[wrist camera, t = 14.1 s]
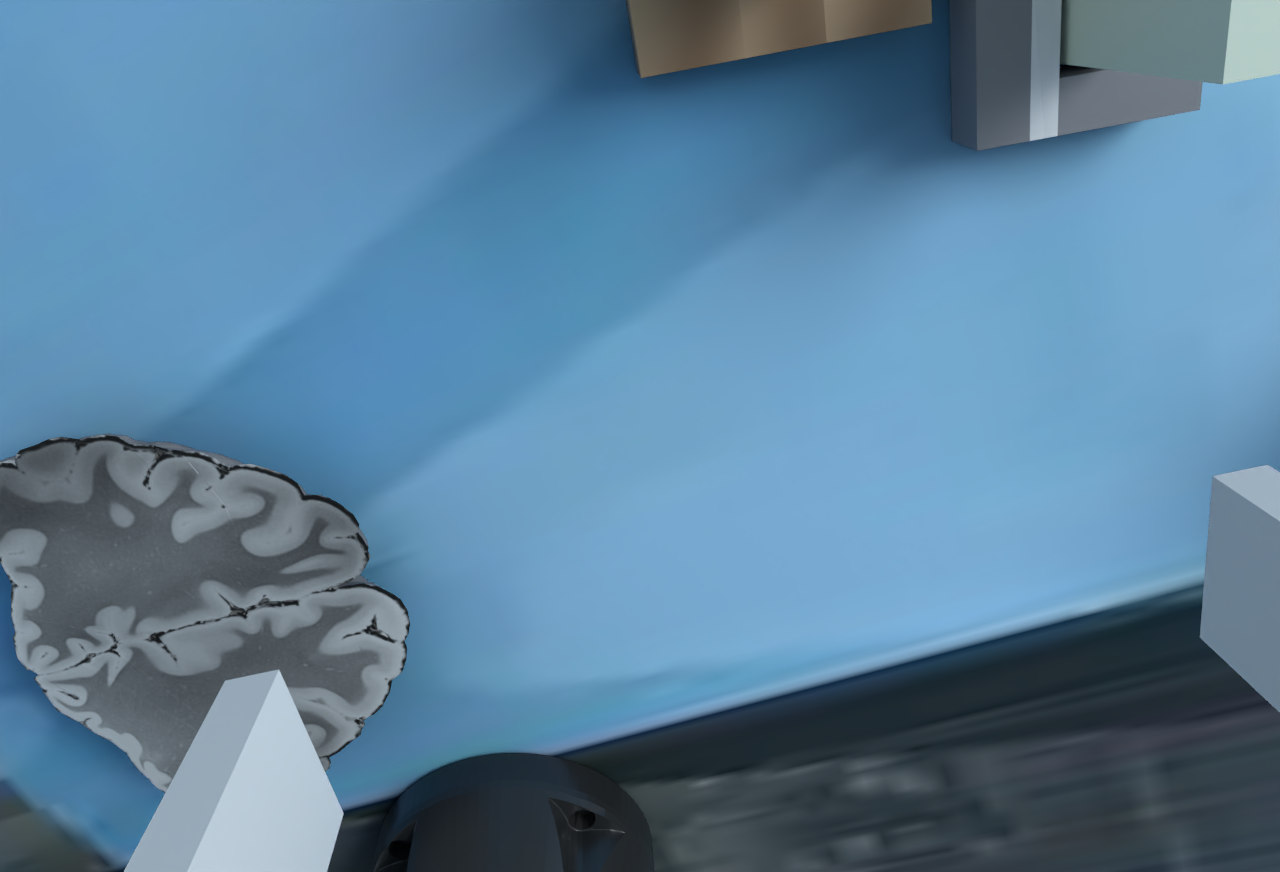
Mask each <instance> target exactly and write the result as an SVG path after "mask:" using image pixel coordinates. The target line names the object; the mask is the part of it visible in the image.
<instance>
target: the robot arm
mask: <svg viewBox="0 0 1280 872" xmlns="http://www.w3.org/2000/svg"><path fill="white" fill-rule="evenodd" d="M1200 638H1201V639H1202V640H1203V641H1204V642H1205V643H1206V644H1207V645H1209V646H1210V647H1211V648H1212V649H1213V650H1214V651H1215V652H1216V653H1217V654H1218V655H1219V656H1220V657H1221V658H1222V659H1223V660H1224V661H1226V662H1227V663H1228V664H1229V665H1230V666H1231V667H1232V668H1233V669H1234V670H1235V671H1236V672H1237V673H1238V674H1239V675H1240V676H1241V677H1243V678H1244V679H1245V680H1246V681H1247V682H1248V683H1249V684H1250V685H1251V686H1252V687H1253V688H1254V689H1255V690H1256V691H1257V692H1258V693H1260V694H1261V695H1262V696H1263V697H1264V698H1265V699H1266V700H1267V701H1268V702H1269V703H1270V704H1271V705H1272V706H1273V707H1274V708H1275V709H1277V710H1278V711H1279V712H1280V472H1279V471H1277V470H1275V469H1274V468H1272V467H1270V466H1269V465H1264V466H1259V467H1254V468H1249V469H1245V470H1240V471H1235V472H1230V473H1225V474H1220V475H1216V476H1213V477H1212V490H1211V502H1210V515H1209V528H1208V541H1207V553H1206V566H1205V579H1204V591H1203V604H1202V617H1201V630H1200ZM343 814H344V813H343V811H342V809H341V806H340V804H339V802H338V800H337V798H336V795H335V793H334V791H333V789H332V786H331V784H330V782H329V780H328V777H327V775H326V773H325V771H324V769H323V766H322V764H321V762H320V760H319V757H318V755H317V753H316V751H315V748H314V746H313V744H312V742H311V740H310V737H309V735H308V733H307V731H306V728H305V726H304V724H303V722H302V719H301V717H300V715H299V713H298V710H297V708H296V706H295V704H294V702H293V699H292V697H291V695H290V693H289V690H288V688H287V686H286V684H285V681H284V679H283V677H282V675H281V673H280V670H274V671H269V672H264V673H260V674H255V675H250V676H245V677H240V678H236V679H231V680H226V681H225V682H224V684H223V686H222V688H221V689H220V691H219V693H218V695H217V697H216V699H215V701H214V703H213V704H212V706H211V708H210V710H209V712H208V714H207V716H206V718H205V720H204V721H203V723H202V725H201V727H200V729H199V731H198V733H197V735H196V736H195V738H194V740H193V742H192V744H191V746H190V748H189V750H188V752H187V753H186V755H185V757H184V759H183V761H182V763H181V765H180V767H179V769H178V770H177V772H176V774H175V776H174V778H173V780H172V782H171V784H170V785H169V787H168V789H167V791H166V793H165V795H164V797H163V799H162V801H161V802H160V804H159V806H158V808H157V810H156V812H155V814H154V816H153V817H152V819H151V821H150V823H149V825H148V827H147V829H146V831H145V833H144V834H143V836H142V838H141V840H140V842H139V844H138V846H137V848H136V849H135V851H134V853H133V855H132V857H131V859H130V861H129V863H128V865H127V866H126V868H125V870H124V872H327V870H328V866H329V863H330V859H331V856H332V852H333V849H334V845H335V842H336V838H337V835H338V831H339V828H340V824H341V821H342V817H343ZM371 872H654V861H653V848H652V838H651V833H650V829H649V826H648V823H647V821H646V819H645V817H644V815H643V813H642V811H641V810H640V808H639V807H638V805H637V804H636V803H635V801H634V800H633V799H632V798H631V797H630V796H629V795H628V794H627V793H626V792H625V791H624V790H623V789H622V788H621V787H619V786H618V785H617V784H616V783H614V782H613V781H611V780H610V779H608V778H607V777H605V776H603V775H602V774H600V773H598V772H596V771H594V770H592V769H590V768H588V767H585V766H583V765H580V764H577V763H574V762H571V761H568V760H564V759H561V758H556V757H551V756H545V755H538V754H527V753H504V754H493V755H485V756H480V757H475V758H470V759H466V760H463V761H459V762H456V763H453V764H451V765H448V766H446V767H443V768H441V769H439V770H437V771H434V772H433V773H431V774H429V775H427V776H425V777H424V778H422V779H421V780H419V781H418V782H416V783H415V784H414V785H412V786H411V787H410V788H409V789H408V790H406V791H405V792H404V793H403V794H402V795H401V796H400V797H399V798H398V799H397V801H396V802H395V803H394V804H393V806H392V807H391V809H390V810H389V812H388V813H387V815H386V817H385V819H384V821H383V824H382V826H381V829H380V833H379V836H378V840H377V844H376V848H375V852H374V857H373V861H372V865H371Z"/></svg>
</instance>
